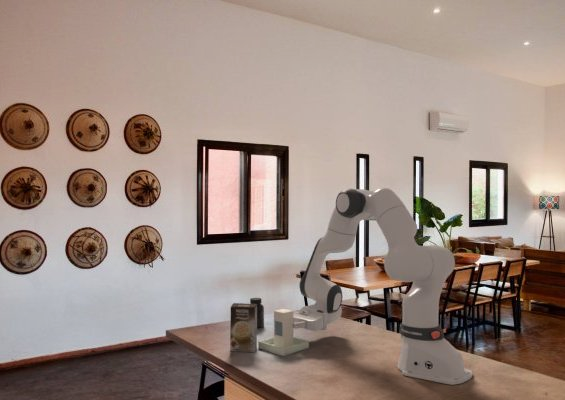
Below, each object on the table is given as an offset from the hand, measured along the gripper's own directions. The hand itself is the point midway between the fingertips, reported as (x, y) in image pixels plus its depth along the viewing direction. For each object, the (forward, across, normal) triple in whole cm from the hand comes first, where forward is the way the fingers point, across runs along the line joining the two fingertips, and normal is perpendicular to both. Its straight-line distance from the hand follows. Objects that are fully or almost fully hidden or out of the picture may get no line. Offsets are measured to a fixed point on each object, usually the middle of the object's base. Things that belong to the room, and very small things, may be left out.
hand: (284, 323), depth 177 cm
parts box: (0, 0, +8) cm, 8 cm away
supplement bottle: (-14, -30, +9) cm, 35 cm away
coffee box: (+11, -10, +9) cm, 17 cm away
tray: (0, 0, +9) cm, 9 cm away
